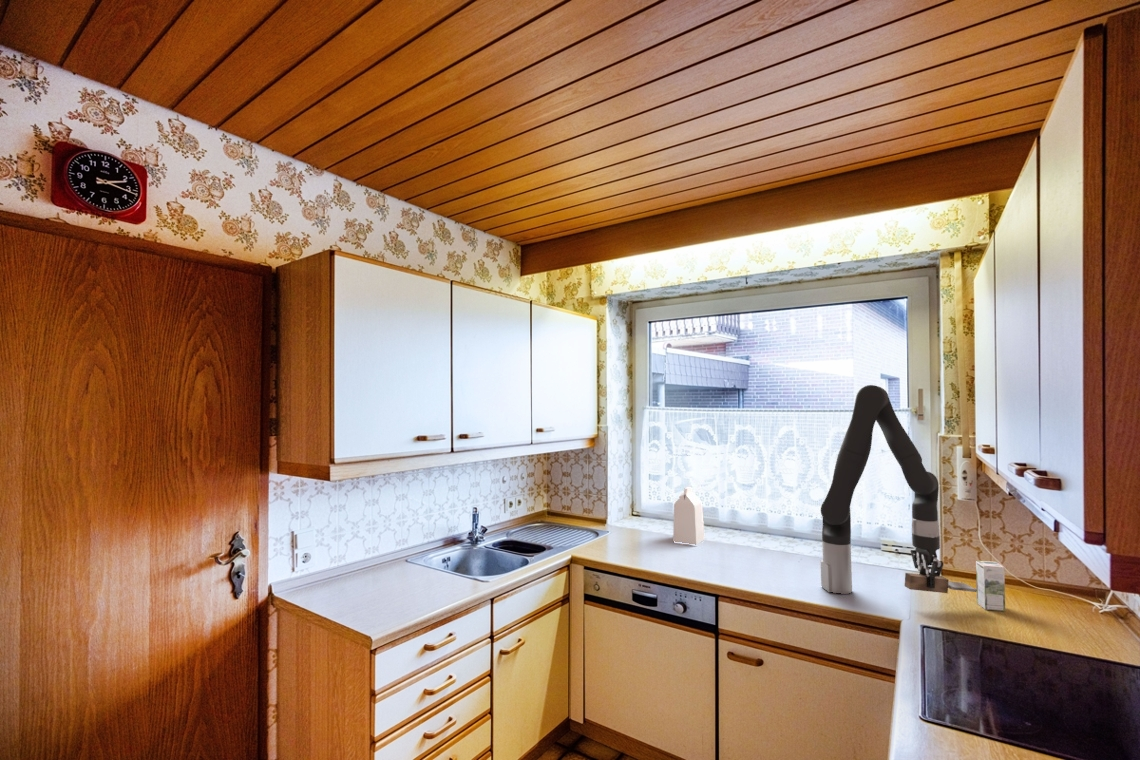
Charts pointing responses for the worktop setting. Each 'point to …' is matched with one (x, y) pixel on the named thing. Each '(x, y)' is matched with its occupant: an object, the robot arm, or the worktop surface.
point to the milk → (688, 518)
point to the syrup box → (990, 585)
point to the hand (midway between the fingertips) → (927, 585)
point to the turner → (940, 584)
